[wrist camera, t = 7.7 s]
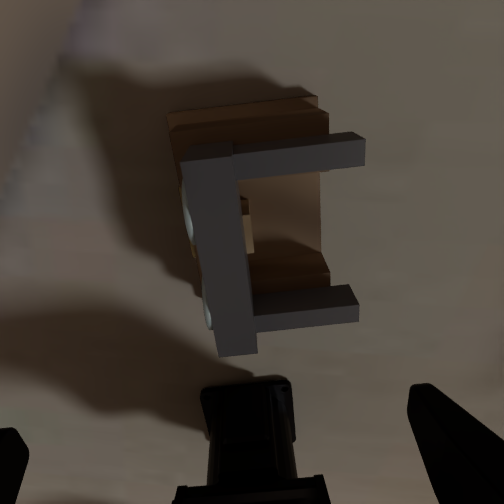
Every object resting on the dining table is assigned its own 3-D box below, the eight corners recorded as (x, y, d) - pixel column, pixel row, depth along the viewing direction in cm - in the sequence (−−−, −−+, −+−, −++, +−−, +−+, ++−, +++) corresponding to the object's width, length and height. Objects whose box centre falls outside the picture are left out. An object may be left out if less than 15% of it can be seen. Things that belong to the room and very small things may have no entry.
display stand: (319, 287, 22) (330, 318, 19) (204, 300, 22) (200, 332, 20) (314, 95, 17) (328, 100, 14) (165, 113, 17) (152, 121, 15)
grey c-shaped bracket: (348, 303, 19) (366, 341, 16) (216, 317, 19) (213, 358, 16) (352, 126, 15) (377, 139, 12) (184, 146, 15) (172, 163, 12)
